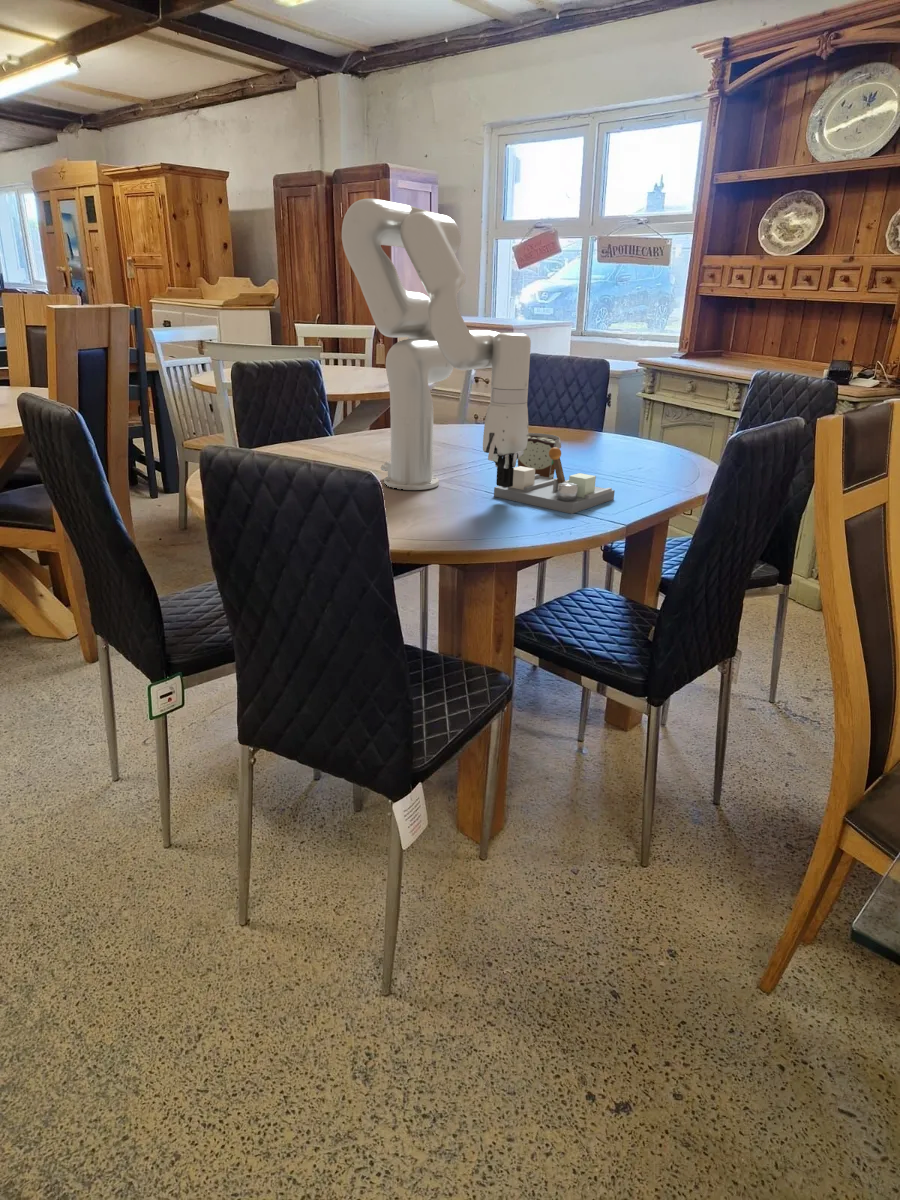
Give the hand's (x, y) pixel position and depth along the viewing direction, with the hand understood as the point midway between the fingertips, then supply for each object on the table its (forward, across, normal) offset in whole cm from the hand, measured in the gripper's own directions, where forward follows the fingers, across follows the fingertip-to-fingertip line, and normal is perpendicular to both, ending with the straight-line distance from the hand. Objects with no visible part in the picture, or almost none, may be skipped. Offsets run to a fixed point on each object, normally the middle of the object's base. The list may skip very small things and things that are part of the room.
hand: (504, 485), depth 161 cm
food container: (+4, -26, -8) cm, 27 cm away
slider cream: (+1, -6, 0) cm, 6 cm away
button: (+1, -4, +13) cm, 14 cm away
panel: (+3, -10, +6) cm, 12 cm away
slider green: (+1, -10, +13) cm, 16 cm away
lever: (0, -10, +8) cm, 13 cm away
